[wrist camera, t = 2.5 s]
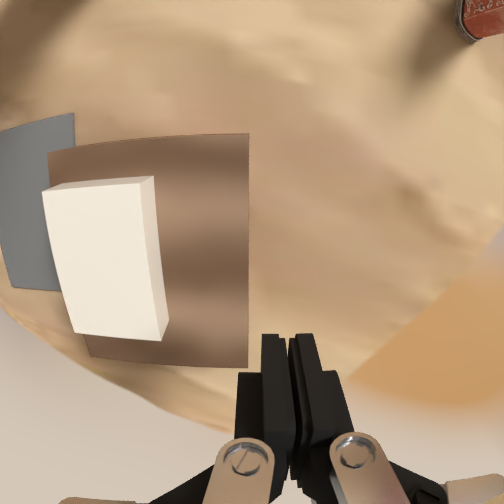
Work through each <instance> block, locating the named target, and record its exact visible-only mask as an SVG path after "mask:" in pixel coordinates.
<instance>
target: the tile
mask: <svg viewBox="0 0 504 504" xmlns="http://www.w3.org/2000/svg"><path fill="white" fill-rule="evenodd" d="M42 197H43V204H44V211H45V217H46V223H47V228H48V234H49V239H50V244H51V249H52V253H53V258H54V262H55V266H56V270H57V274H58V278H59V282H60V286H61V290H62V293H63V297H64V300H65V304H66V307H67V310H68V313H69V317H70V320H71V323H72V326H73V329H74V332H75V333H82V334H90V335H99V336H108V337H117V338H128V339H139V340H152V341H161V340H162V337H163V335H164V332H165V329H166V327H167V324H168V321H169V316H168V309H167V303H166V296H165V288H164V281H163V273H162V265H161V256H160V247H159V238H158V227H157V216H156V204H155V190H154V176H141V177H126V178H113V179H101V180H90V181H79V182H70V183H62V184H59V185H57V186H54V187H52V188H49V189H47V190H45V191H42Z"/></svg>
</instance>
